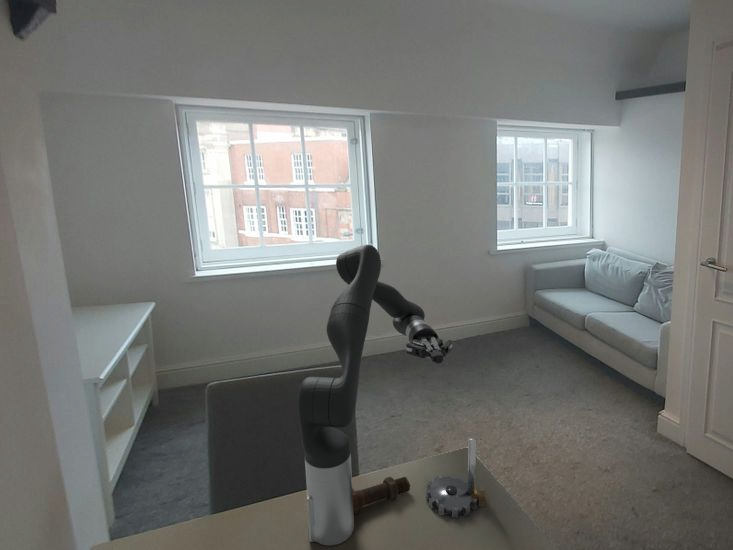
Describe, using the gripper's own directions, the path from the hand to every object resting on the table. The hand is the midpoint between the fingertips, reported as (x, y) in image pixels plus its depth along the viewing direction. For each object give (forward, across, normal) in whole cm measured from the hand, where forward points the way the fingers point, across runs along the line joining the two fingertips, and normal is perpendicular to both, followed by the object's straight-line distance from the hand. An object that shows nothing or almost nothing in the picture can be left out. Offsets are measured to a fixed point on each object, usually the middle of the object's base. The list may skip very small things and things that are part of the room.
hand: (438, 359), depth 101 cm
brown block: (+15, +5, +28) cm, 32 cm away
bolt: (+11, -17, +28) cm, 35 cm away
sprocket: (+13, -1, +28) cm, 31 cm away
